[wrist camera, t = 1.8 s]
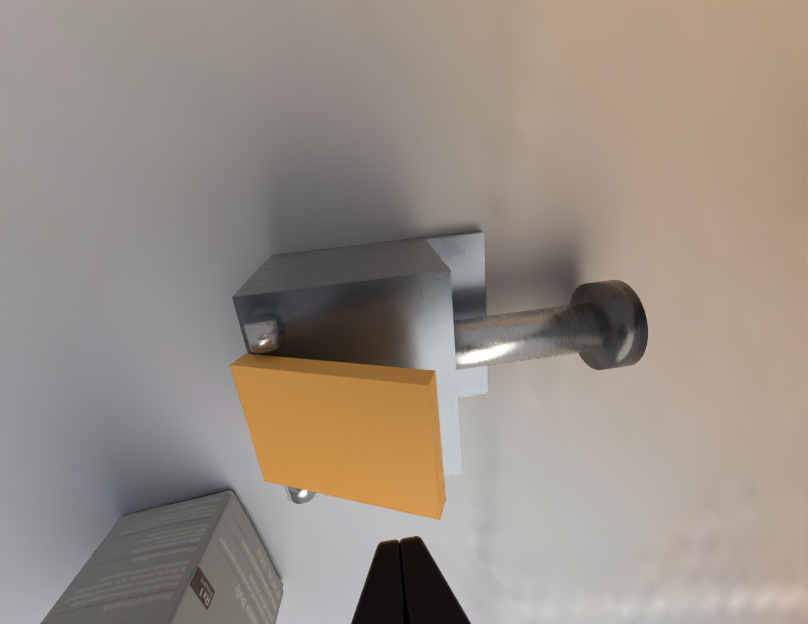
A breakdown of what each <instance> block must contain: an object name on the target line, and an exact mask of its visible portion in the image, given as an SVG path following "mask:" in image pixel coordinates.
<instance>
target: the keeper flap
mask: <svg viewBox="0 0 808 624" xmlns="http://www.w3.org/2000/svg"><path fill="white" fill-rule="evenodd" d="M230 368H231V371H232V374H233V378H234V381H235V384H236V388H237V391H238V394H239V398H240V401H241V404H242V408H243V411H244V414H245V417H246V421H247V424H248V427H249V431H250V434H251V437H252V441H253V444H254V447H255V451H256V454H257V457H258V461H259V464H260V467H261V471H262V474H263V477H264V481H267V482H271V483H276V484H280V485H285V486H289V487H294V488H298V489H303V490H307V491H312V492H316V493H321V494H325V495H330V496H334V497H339V498H344V499H348V500H353V501H357V502H362V503H366V504H371V505H375V506H380V507H384V508H389V509H393V510H398V511H402V512H407V513H411V514H416V515H420V516H425V517H429V518H434V519H438V520H440V518H441V515H442V511H443V508H444V505H445V501H446V496H445V483H444V471H443V458H442V445H441V433H440V420H439V408H438V395H437V382H436V371H434V370H423V369H412V368H400V367H389V366H378V365H367V364H355V363H344V362H333V361H322V360H310V359H299V358H288V357H277V356H265V355H254V354H245V355H244V356H242V357H241V358H239V359H238V360H236V361H235V362H234V363H232V364H231V365H230Z"/></svg>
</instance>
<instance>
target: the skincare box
mask: <svg viewBox="0 0 808 624" xmlns="http://www.w3.org/2000/svg"><path fill="white" fill-rule="evenodd" d="M282 596H283V583H282V582H281V580H280V578H279V577H278V576H277V575H276V572H275V570H274V568H273V566H272V564H271V561H270V559H269V557H268V555H267V553H266V551H265V549H264V547H263V545H262V543H261V541H260V539H259V537H258V535H257V533H256V531H255V529H254V527H253V526H252V524H251V522H250V520H249V518H248V517H247V515H246V513H245V511H244V510H243V508H242V506H241V504H240V503H239V501H238V499H237V497H236V496H235V495H234V494H233V492H232V491H230V490H229V491H225V492H221V493H217V494H212V495H209V496H204V497H200V498H196V499H192V500H188V501H184V502H179V503H175V504H170V505H166V506H162V507H158V508H153V509H149V510H145V511H141V512H137V513H133V514H129V515H125V516H122V517H121V518H119V520H118V522H117V523H116V524H115V526H114V527H113V528H112V530H111V531H110V532H109V534H108V535H107V536H106V538H105V539H104V540H103V542H102V543H101V544H100V546H99V547H98V548H97V549H96V551H95V552H94V553H93V555H92V556H91V557H90V559H89V560H88V561H87V563H86V564H85V565H84V567H83V568H82V569H81V571H80V572H79V573H78V574H77V576H76V577H75V578H74V580H73V581H72V582H71V584H70V585H69V586H68V588H67V589H66V590H65V592H64V593H63V594H62V596H61V597H60V598H59V600H58V601H57V602H56V604H55V605H54V606H53V608H52V609H51V610H50V612H49V613H48V614H47V616H46V617H45V618H44V620H43V621H42V622H41V624H276V619H277V615H278V611H279V607H280V604H281V600H282Z"/></svg>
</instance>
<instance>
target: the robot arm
mask: <svg viewBox="0 0 808 624" xmlns="http://www.w3.org/2000/svg"><path fill="white" fill-rule="evenodd" d="M351 624H471V623H470V621H469V619H468V617H467V616H466V614H465V612H464V611H463V609H462V607H461V605H460V604H459V602H458V600H457V599H456V597H455V595H454V593H453V592H452V590H451V588H450V587H449V585H448V583H447V581H446V580H445V578H444V576H443V575H442V573H441V571H440V569H439V568H438V566H437V564H436V563H435V561H434V559H433V557H432V556H431V554H430V552H429V551H428V549H427V547H426V545H425V544H424V542H423V540H422V539H421V538H420V537H418V536H415V537H408V538H403V539H402V540H401V541H400V543H399V541H398V540H390V541H384V542H380V543H379V544H378V546H377V549H376V552H375V555H374V558H373V560H372V563H371V566H370V569H369V572H368V575H367V578H366V581H365V584H364V587H363V590H362V593H361V596H360V599H359V602H358V605H357V608H356V611H355V614H354V617H353V620H352V623H351Z"/></svg>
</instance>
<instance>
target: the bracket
mask: <svg viewBox="0 0 808 624" xmlns="http://www.w3.org/2000/svg"><path fill="white" fill-rule="evenodd" d="M232 298H233V301H234V305H235V309H236V312H237V316H238V320H239V323H240V327H241V330H242V334H243V338H244V341H245V345H246V348H247V352H248V354H254V355H265V356H277V357H288V358H299V359H310V360H322V361H333V362H344V363H355V364H367V365H378V366H389V367H400V368H412V369H423V370H434V371H436V382H437V395H438V408H439V420H440V433H441V445H442V458H443V471H444V477H446V476H453V475H459V474H462V464H461V446H460V429H459V411H458V397H465V396H472V395H479V394H486V393H488V376H487V366H481V367H474V368H467V369H460V370H456V358H455V341H454V323H453V320H461V319H468V318H476V317H483V316H486V289H485V246H484V232H482V231H473V232H465V233H456V234H448V235H440V236H431V237H423V238H414V239H406V240H398V241H389V242H381V243H372V244H364V245H356V246H347V247H339V248H331V249H322V250H314V251H305V252H297V253H289V254H280V255H272V256H271V257H270V258H269V259H268V260H267V261H266V262H265V263H264V264H263V265H262V266H261V267H260V268H259V269H258V270H257V271H256V272H255V274H254V275H253V276H252V277H251V278H250V279H249V280H248V281H247V282H246V283H245V284H244V285H243V286H242V287H241V288H240V289H239V290H238V292H237V293H236V294H235V295H234V296H233V297H232ZM284 486H285V485H284ZM285 489H286V493H287V496H288V500H289V501H293V502H294V503H297V504H302V503H306V502H308V501H310V500H311V499H312V498H313V497H318V496H324V495H325V494H321V493H316V492H312V491H307V490H303V489H298V488H294V487H289V486H285Z"/></svg>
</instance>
